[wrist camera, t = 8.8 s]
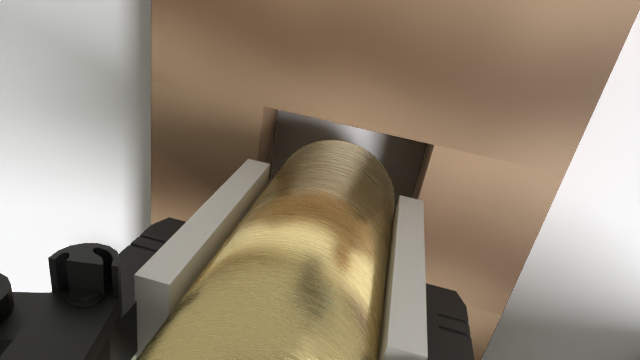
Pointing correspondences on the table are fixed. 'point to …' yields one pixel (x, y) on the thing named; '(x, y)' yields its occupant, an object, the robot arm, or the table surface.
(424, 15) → the jig
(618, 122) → the table surface
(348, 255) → the brass cylinder rod
